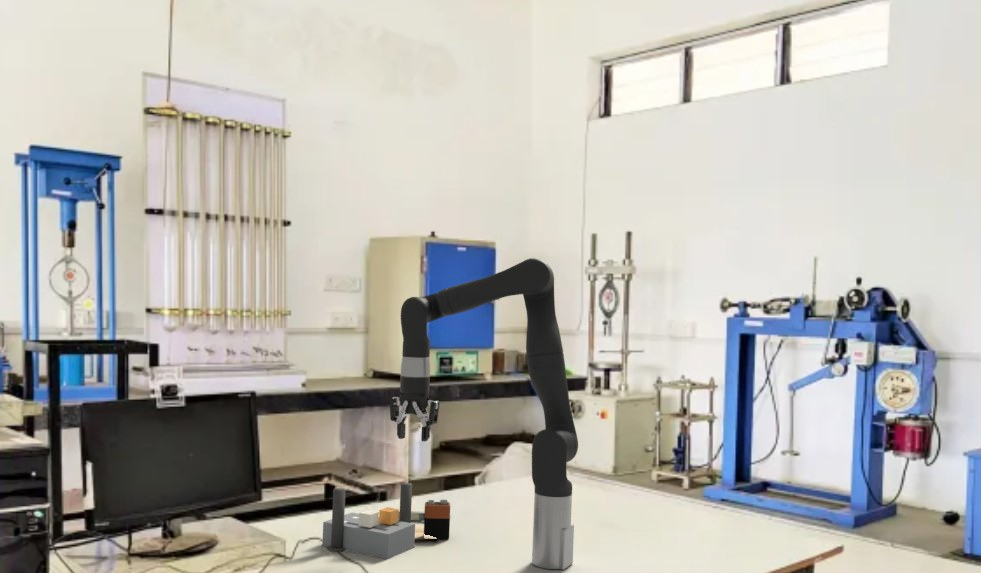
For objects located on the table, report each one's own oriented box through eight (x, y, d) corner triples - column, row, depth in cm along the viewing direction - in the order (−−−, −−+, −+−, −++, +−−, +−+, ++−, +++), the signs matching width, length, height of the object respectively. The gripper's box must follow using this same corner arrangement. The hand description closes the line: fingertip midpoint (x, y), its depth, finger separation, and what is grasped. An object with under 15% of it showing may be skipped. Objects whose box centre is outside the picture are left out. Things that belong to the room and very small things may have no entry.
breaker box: (414, 547, 214) (415, 523, 214) (387, 559, 204) (388, 533, 204) (351, 535, 223) (352, 512, 224) (322, 545, 213) (323, 521, 213)
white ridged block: (378, 524, 211) (378, 512, 211) (370, 527, 208) (370, 514, 208) (366, 522, 212) (367, 509, 212) (358, 525, 209) (359, 512, 209)
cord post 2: (415, 540, 220) (418, 483, 220) (406, 544, 216) (409, 486, 217) (401, 538, 222) (404, 481, 223) (392, 542, 218) (394, 484, 219)
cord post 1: (349, 548, 211) (351, 489, 211) (338, 553, 207) (341, 492, 207) (335, 545, 213) (337, 486, 213) (324, 550, 209) (326, 489, 209)
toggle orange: (398, 521, 214) (398, 509, 214) (390, 524, 211) (390, 512, 211) (386, 519, 216) (387, 507, 216) (378, 522, 213) (379, 510, 213)
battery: (449, 540, 222) (450, 502, 222) (423, 539, 222) (424, 501, 222) (448, 535, 226) (450, 498, 227) (423, 535, 226) (425, 498, 226)
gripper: (446, 375, 215) (444, 440, 214) (399, 372, 222) (397, 435, 221) (431, 377, 208) (429, 444, 208) (383, 373, 215) (381, 438, 214)
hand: (412, 439), depth 214 cm, fingers open, 6 cm apart
